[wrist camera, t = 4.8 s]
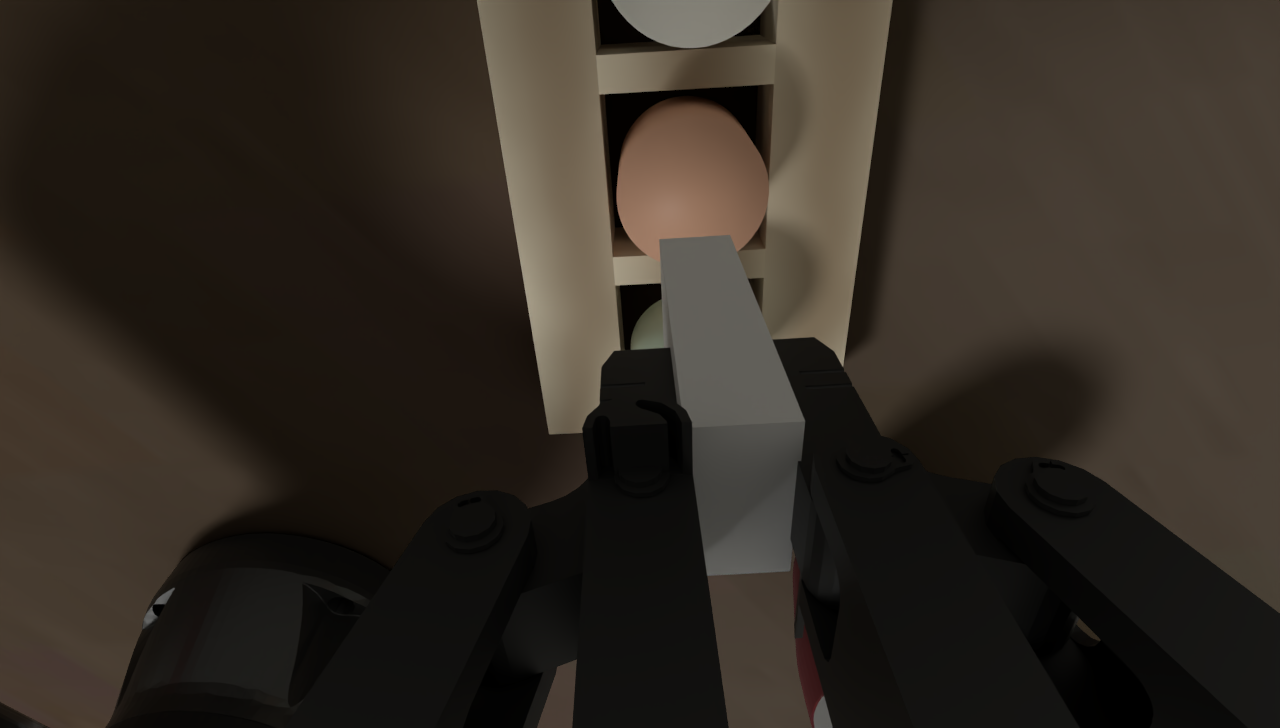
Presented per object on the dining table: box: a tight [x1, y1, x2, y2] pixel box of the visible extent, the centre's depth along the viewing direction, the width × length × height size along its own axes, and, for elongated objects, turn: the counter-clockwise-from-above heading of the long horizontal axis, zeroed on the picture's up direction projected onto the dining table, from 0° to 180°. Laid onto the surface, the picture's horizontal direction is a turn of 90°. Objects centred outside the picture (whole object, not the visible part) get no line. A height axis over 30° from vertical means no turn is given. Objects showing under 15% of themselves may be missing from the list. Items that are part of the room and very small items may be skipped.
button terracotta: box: [617, 96, 769, 262], centre depth 21 cm, size 5×5×4 cm
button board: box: [477, 0, 893, 434], centre depth 22 cm, size 12×21×3 cm, turn 3°
